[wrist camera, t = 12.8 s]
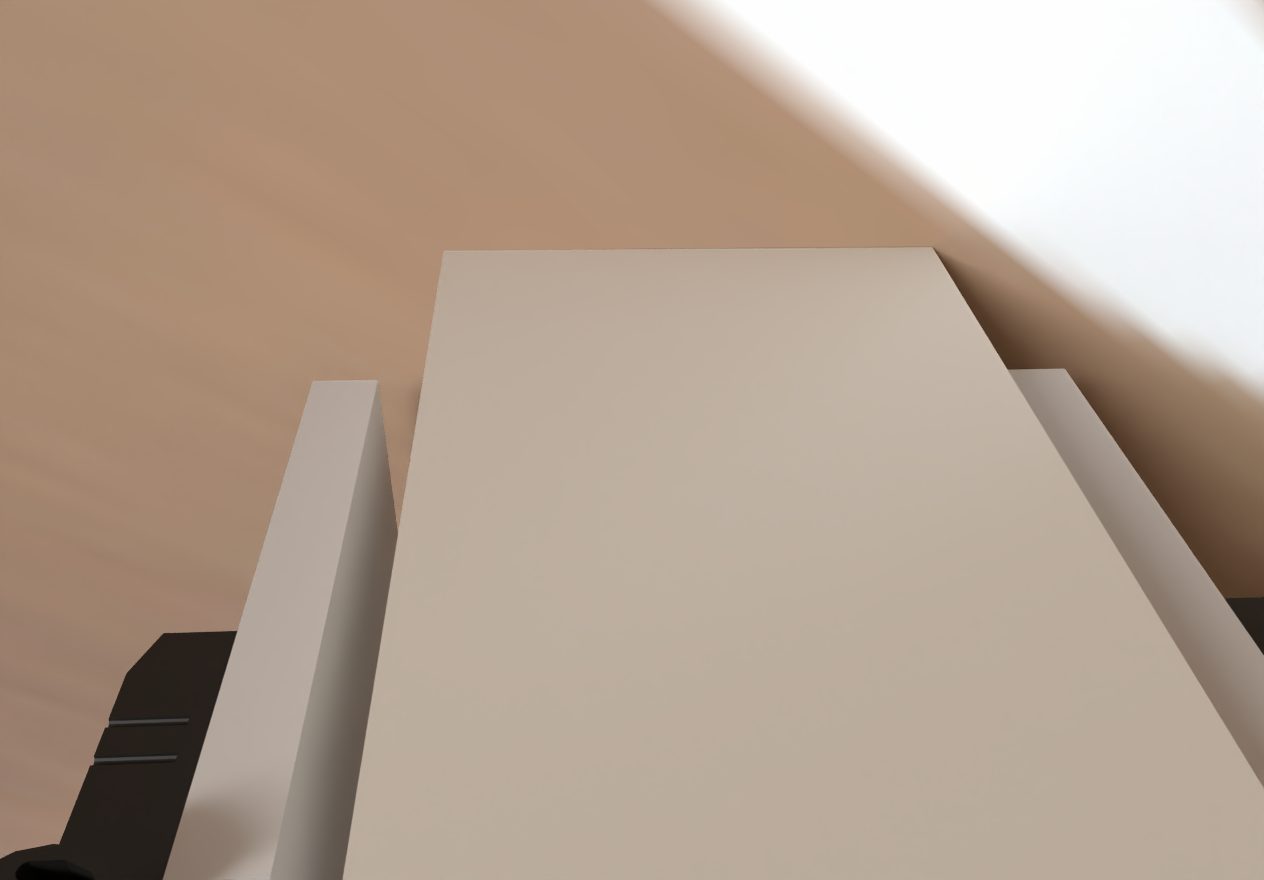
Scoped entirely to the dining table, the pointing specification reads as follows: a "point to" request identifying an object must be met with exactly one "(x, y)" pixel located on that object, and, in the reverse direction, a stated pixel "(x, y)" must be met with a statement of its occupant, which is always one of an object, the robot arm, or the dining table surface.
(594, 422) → the white block dumbbell
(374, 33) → the dining table surface
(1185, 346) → the dining table surface
